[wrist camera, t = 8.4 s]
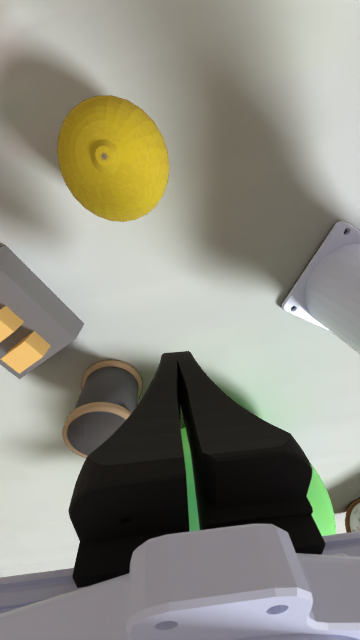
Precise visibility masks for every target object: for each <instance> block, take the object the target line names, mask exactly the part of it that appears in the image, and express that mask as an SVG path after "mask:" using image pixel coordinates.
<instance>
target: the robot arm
mask: <svg viewBox="0 0 360 640" xmlns="http://www.w3.org/2000/svg"><path fill="white" fill-rule="evenodd" d="M346 228H347V232H346V233H345V234H344V230H345V229H346ZM292 306H295V307H294V309H292V310H291V307H292ZM282 309H283V310H284V311H286V312H288V313H290V314H293V315H295V316H297V317H299V318H301V319H304V320H306V321H308V322H310V323H313V324H315V325H317V326H319V327H321V328H324V329H326V330H328V331H330V332H332V333H333V334H335V335H336V336H337V337H339V338H340V339H341V340H342V341H344V342H345V343H346V344H348V345H349V346H350V347H351V348H353V349H354V350H355V351H357V352H358V353H359V354H360V230H358V229H356V228H355V227H353V226H351V225H350V224H348V223H347V222H343V221H340V222H337V223H336V224H335V225H334V227H333V228H332V230H331V231H330V233H329V234H328V236H327V237H326V239H325V240H324V242H323V243H322V245H321V246H320V248H319V249H318V251H317V252H316V254H315V255H314V257H313V258H312V260H311V261H310V263H309V264H308V266H307V267H306V269H305V270H304V272H303V273H302V275H301V276H300V278H299V279H298V281H297V282H296V284H295V285H294V287H293V288H292V290H291V291H290V293H289V294H288V296H287V297H286V299H285V300H284V302H283V303H282ZM180 405H181V409H182V414H183V419H184V423H185V428H186V433H187V437H188V442H189V447H190V452H191V460H192V468H193V476H194V484H195V493H196V501H197V510H198V519H199V528H200V530H198V531H190V532H189V512H188V496H187V479H186V468H185V459H184V451H183V444H182V436H181V428H180ZM311 478H312V467H311V464H310V462H309V460H308V459H307V457H306V455H305V453H304V452H303V450H302V449H301V447H300V446H299V445H298V443H297V442H296V441H295V439H294V438H293V437H292V435H291V434H290V433H288V432H286V431H284V430H282V429H280V428H278V427H276V426H273V425H271V424H269V423H267V422H266V421H264V420H262V419H260V418H259V417H257V416H255V415H253V414H252V413H250V412H249V411H247V410H246V409H244V408H243V407H241V406H240V405H239V404H237V403H236V402H235V401H233V400H232V399H231V398H230V397H228V396H227V395H226V394H225V393H224V392H223V391H222V390H221V389H220V388H219V387H217V385H216V384H215V383H214V382H213V381H212V380H211V379H210V378H209V377H208V376H207V375H206V373H205V372H204V371H203V370H202V369H201V367H200V366H199V365H198V363H197V362H196V360H195V359H194V357H193V356H192V354H191V353H190V352H189V351H185V352H174V353H164V354H163V355H162V357H161V361H160V364H159V367H158V370H157V372H156V374H155V376H154V378H153V381H152V382H151V384H150V386H149V388H148V390H147V392H146V393H145V395H144V396H143V398H142V399H141V401H140V402H139V404H138V405H137V407H136V408H135V409H134V411H133V412H132V413H131V414H130V416H129V417H128V418H127V419H126V420H125V422H124V423H123V424H122V425H121V426H120V427H119V428H118V429H117V430H116V431H115V432H114V433H113V434H112V435H111V436H110V437H109V438H108V439H107V440H106V441H105V442H104V443H102V444H101V445H100V446H99V447H98V448H97V449H95V450H94V451H93V452H92V453H91V454H89V455H88V456H87V458H86V460H85V462H84V464H83V467H82V469H81V471H80V474H79V476H78V479H77V481H76V484H75V488H74V492H73V495H72V499H71V503H70V507H69V515H70V519H71V521H72V524H73V526H74V528H75V531H76V533H77V535H78V538H79V540H80V544H79V548H78V553H77V557H76V562H75V566H74V568H71V569H63V570H55V571H48V572H40V573H32V574H24V575H17V576H9V577H1V578H0V640H360V531H358V532H350V533H343V534H335V535H327V536H322V535H321V533H320V531H319V529H318V527H317V525H316V523H315V521H314V519H313V517H312V515H311V514H312V513H313V509H312V506H311V504H310V502H309V500H308V498H307V493H308V489H309V486H310V482H311Z"/></svg>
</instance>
